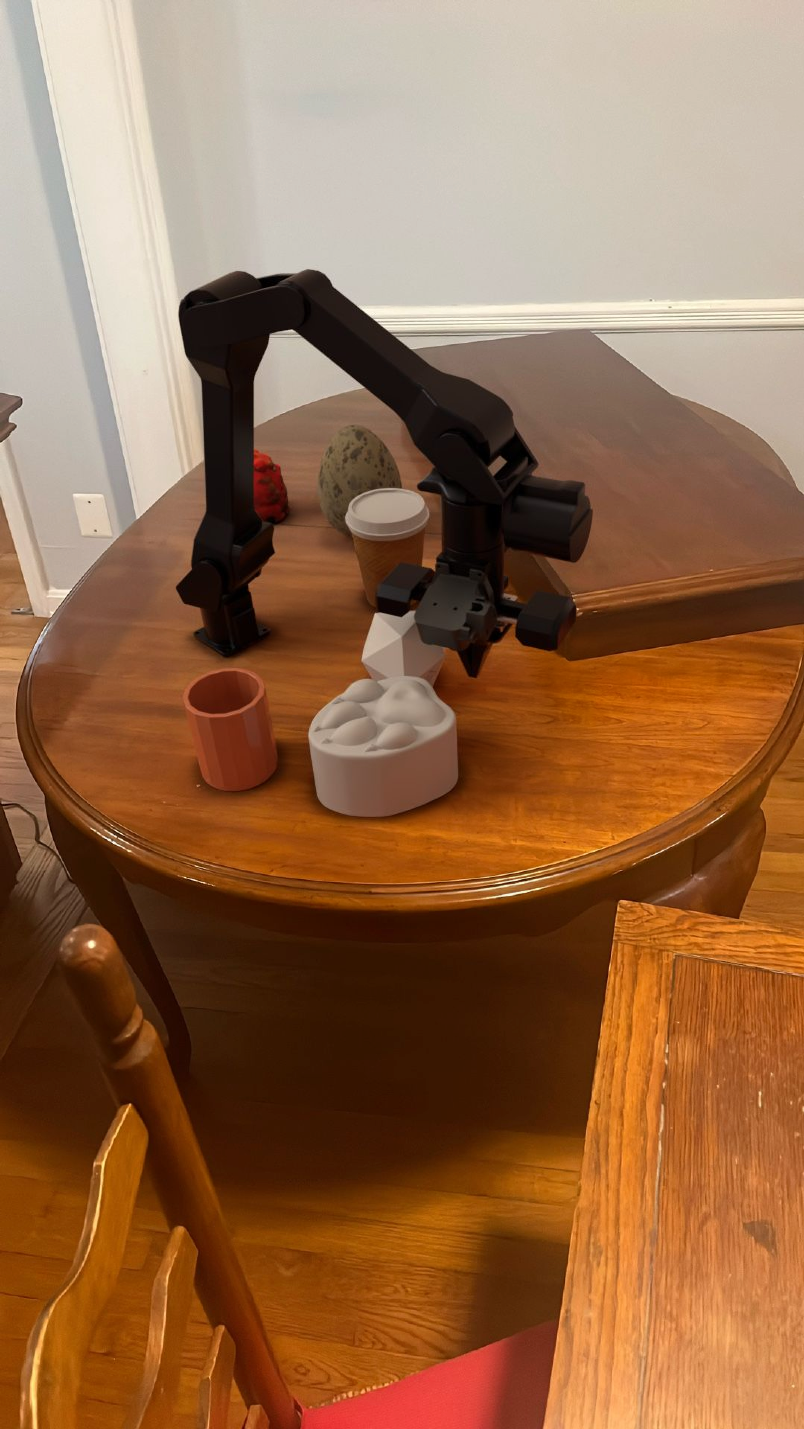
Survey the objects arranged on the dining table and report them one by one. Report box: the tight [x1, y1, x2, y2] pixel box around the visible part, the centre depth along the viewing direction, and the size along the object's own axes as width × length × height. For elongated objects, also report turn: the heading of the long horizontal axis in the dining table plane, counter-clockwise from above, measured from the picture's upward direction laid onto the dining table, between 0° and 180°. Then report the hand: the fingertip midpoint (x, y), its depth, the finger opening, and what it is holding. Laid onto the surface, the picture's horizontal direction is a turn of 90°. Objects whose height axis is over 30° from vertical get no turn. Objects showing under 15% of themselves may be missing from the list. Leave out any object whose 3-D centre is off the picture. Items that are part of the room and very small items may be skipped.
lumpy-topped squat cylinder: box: [308, 676, 459, 818], centre depth 91 cm, size 10×13×9 cm
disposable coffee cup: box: [345, 488, 430, 608], centre depth 115 cm, size 10×10×12 cm
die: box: [360, 610, 446, 688], centre depth 103 cm, size 8×9×10 cm
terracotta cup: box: [182, 667, 279, 792], centre depth 93 cm, size 7×7×9 cm
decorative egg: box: [317, 424, 403, 539], centre depth 126 cm, size 11×11×15 cm
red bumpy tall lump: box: [254, 449, 290, 523], centre depth 133 cm, size 8×7×15 cm
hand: (474, 675), depth 100 cm, fingers closed
